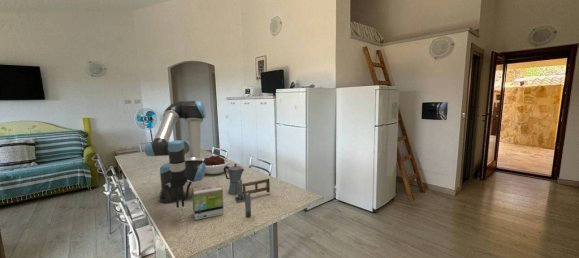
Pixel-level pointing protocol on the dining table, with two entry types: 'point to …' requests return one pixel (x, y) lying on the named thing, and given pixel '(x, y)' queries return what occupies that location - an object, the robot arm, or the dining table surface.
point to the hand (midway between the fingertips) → (181, 212)
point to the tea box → (207, 201)
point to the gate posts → (242, 199)
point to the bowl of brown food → (215, 165)
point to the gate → (256, 186)
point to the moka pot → (234, 177)
